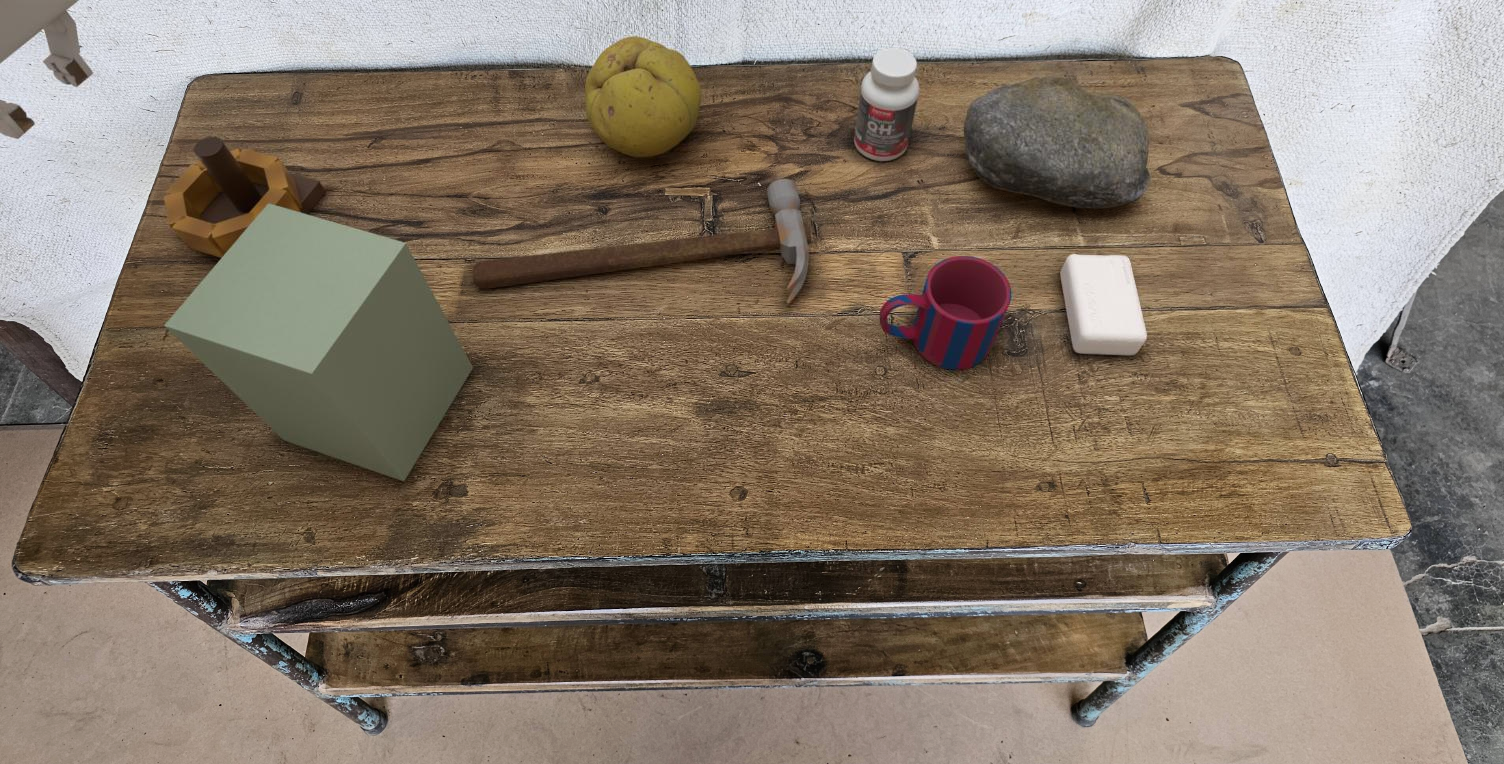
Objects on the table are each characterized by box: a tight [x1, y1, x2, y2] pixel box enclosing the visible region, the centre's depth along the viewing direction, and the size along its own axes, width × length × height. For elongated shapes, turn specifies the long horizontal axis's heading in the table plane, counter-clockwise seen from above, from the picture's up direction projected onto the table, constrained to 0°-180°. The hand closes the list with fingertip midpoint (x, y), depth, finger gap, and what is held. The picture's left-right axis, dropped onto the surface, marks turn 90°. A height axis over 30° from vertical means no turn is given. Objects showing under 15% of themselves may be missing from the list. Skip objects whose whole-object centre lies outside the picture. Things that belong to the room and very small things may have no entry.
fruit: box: [584, 36, 702, 158], centre depth 80 cm, size 11×12×10 cm
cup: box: [878, 255, 1012, 371], centre depth 70 cm, size 7×10×7 cm
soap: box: [1059, 253, 1148, 356], centre depth 72 cm, size 9×6×3 cm, turn 177°
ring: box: [163, 147, 302, 259], centre depth 77 cm, size 10×10×3 cm
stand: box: [193, 136, 326, 224], centre depth 76 cm, size 9×9×8 cm
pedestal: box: [164, 204, 474, 482], centre depth 62 cm, size 11×11×16 cm
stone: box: [963, 75, 1151, 209], centre depth 78 cm, size 17×13×10 cm
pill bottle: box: [853, 47, 920, 162], centre depth 80 cm, size 5×5×10 cm
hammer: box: [472, 178, 812, 308], centre depth 75 cm, size 12×3×30 cm
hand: (49, 104), depth 58 cm, fingers open, 4 cm apart
